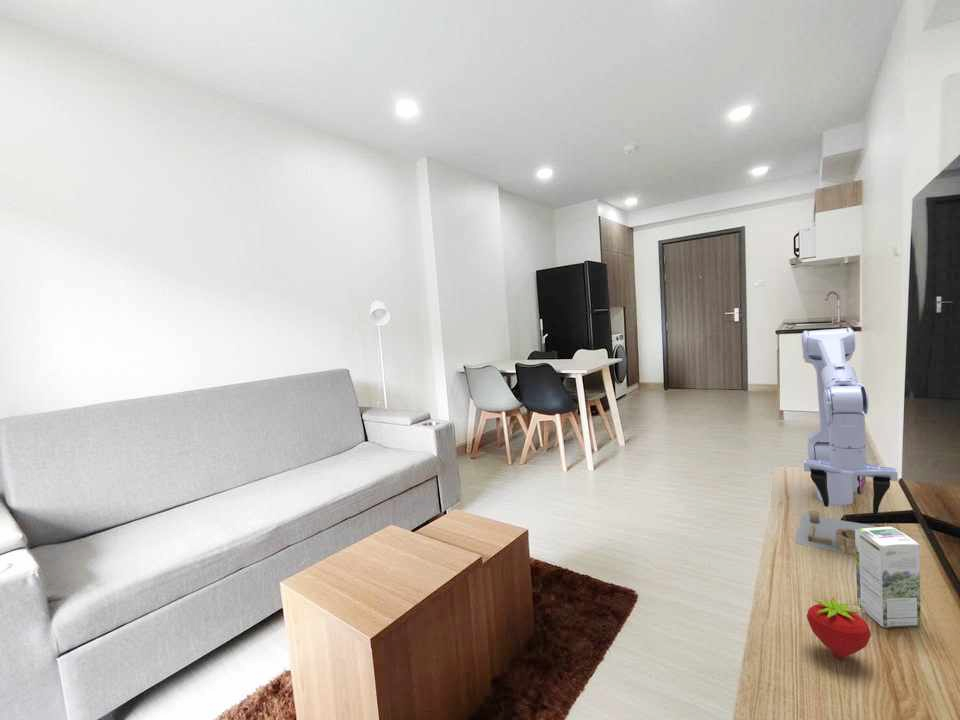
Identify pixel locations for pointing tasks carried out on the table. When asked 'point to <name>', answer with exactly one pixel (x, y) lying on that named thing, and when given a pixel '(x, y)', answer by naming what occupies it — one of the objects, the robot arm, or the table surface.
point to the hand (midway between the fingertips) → (850, 508)
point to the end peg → (850, 534)
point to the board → (823, 531)
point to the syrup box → (888, 576)
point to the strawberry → (838, 627)
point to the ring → (845, 542)
